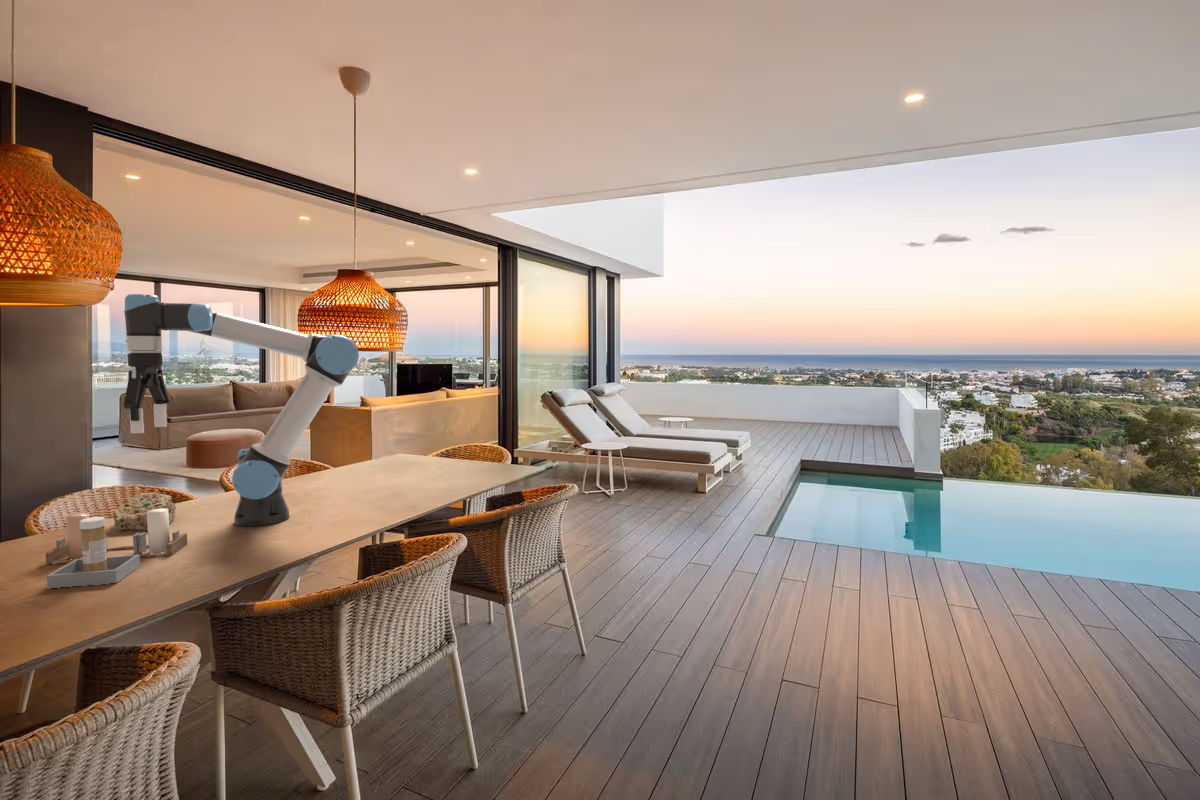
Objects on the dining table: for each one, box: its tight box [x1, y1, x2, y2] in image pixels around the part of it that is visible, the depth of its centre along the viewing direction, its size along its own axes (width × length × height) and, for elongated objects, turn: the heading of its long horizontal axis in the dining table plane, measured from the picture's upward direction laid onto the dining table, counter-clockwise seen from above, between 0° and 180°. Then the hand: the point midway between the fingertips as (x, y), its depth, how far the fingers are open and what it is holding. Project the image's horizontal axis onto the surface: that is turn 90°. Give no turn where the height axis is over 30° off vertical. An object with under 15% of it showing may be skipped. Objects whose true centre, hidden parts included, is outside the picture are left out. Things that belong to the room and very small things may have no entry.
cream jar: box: [147, 508, 171, 554], centre depth 160 cm, size 5×5×11 cm
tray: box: [46, 554, 141, 590], centre depth 141 cm, size 13×11×3 cm
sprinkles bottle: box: [80, 516, 108, 572], centre depth 141 cm, size 5×5×14 cm
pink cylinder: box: [65, 512, 91, 560], centre depth 155 cm, size 5×5×11 cm
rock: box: [112, 491, 176, 532], centre depth 186 cm, size 21×14×10 cm
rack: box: [45, 529, 188, 565], centre depth 158 cm, size 27×10×5 cm, turn 105°
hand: (149, 430), depth 165 cm, fingers open, 13 cm apart
